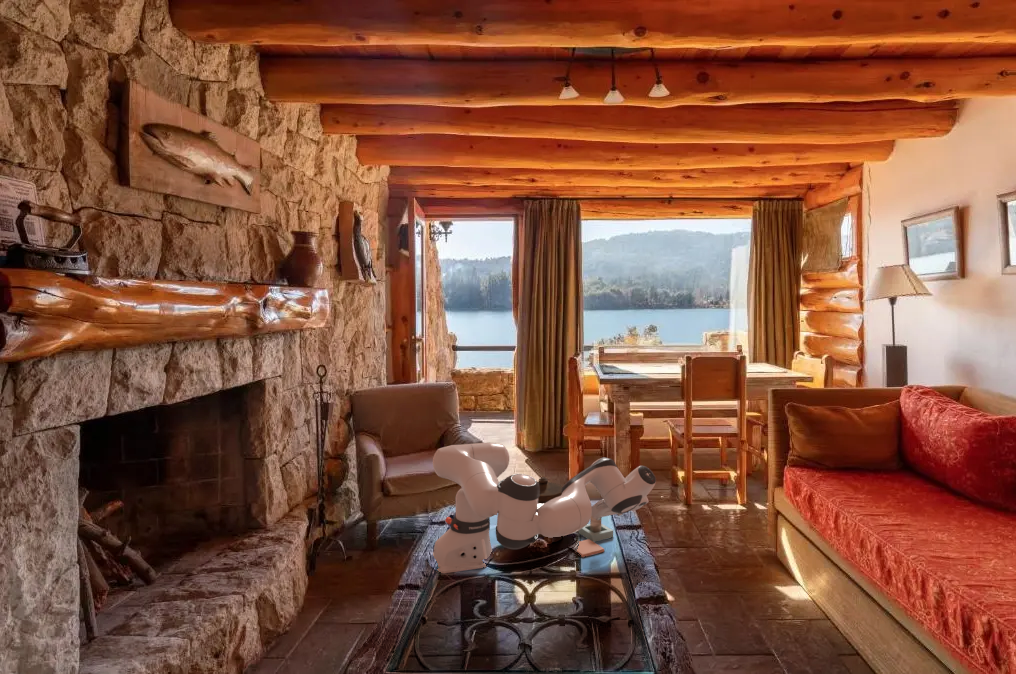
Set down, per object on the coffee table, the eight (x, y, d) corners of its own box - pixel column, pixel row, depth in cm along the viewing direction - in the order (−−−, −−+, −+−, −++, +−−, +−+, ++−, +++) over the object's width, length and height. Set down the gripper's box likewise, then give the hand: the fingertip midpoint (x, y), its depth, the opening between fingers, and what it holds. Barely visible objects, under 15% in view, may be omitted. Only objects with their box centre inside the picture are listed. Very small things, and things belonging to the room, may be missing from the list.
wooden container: (537, 548, 213) (537, 487, 211) (515, 533, 226) (515, 475, 223) (571, 538, 220) (572, 479, 218) (548, 524, 233) (548, 468, 231)
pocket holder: (592, 542, 217) (593, 535, 217) (578, 533, 225) (578, 526, 225) (613, 537, 222) (613, 530, 221) (598, 528, 229) (598, 521, 229)
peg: (594, 538, 221) (594, 517, 220) (588, 534, 224) (588, 513, 223) (603, 536, 223) (603, 514, 222) (596, 532, 226) (597, 511, 225)
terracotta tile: (582, 557, 206) (582, 554, 206) (568, 547, 214) (568, 544, 213) (604, 551, 210) (604, 548, 210) (589, 541, 218) (589, 539, 218)
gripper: (604, 511, 201) (587, 529, 211) (652, 501, 211) (634, 519, 220) (596, 493, 205) (580, 512, 214) (644, 484, 214) (626, 503, 224)
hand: (607, 515), depth 217 cm, fingers open, 8 cm apart
